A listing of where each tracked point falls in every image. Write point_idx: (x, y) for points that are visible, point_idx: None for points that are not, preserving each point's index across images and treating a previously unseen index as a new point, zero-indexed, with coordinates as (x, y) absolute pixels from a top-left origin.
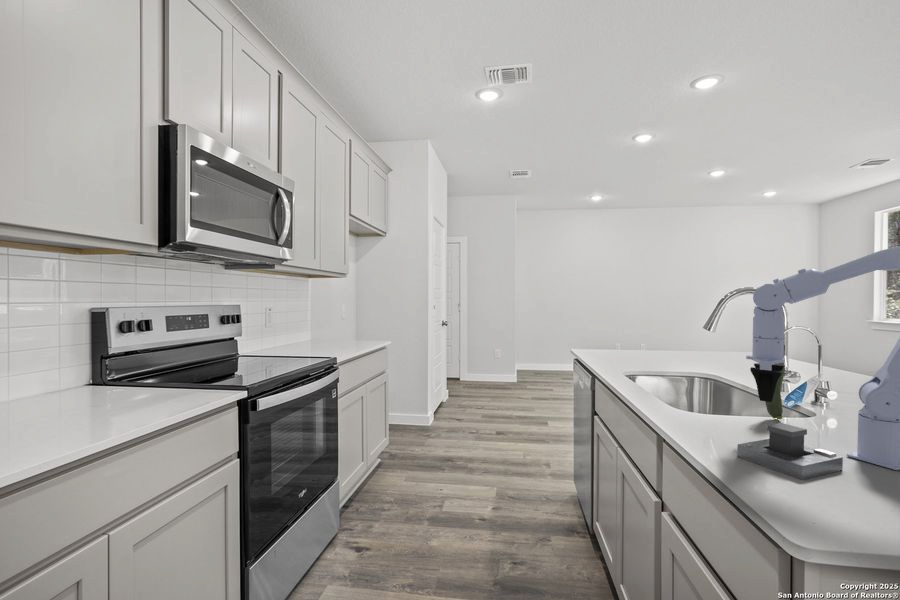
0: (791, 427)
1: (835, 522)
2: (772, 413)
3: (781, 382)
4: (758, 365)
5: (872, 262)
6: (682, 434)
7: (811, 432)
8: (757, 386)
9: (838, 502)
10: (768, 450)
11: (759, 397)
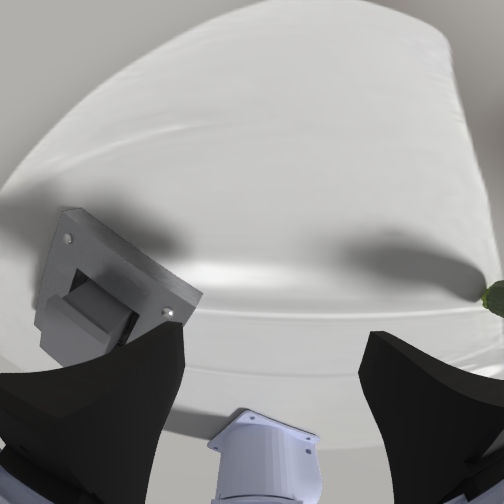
0: (76, 357)
1: None
2: (491, 291)
3: None
4: (486, 437)
5: None
6: (191, 55)
7: None
8: (109, 352)
9: (19, 336)
10: (65, 279)
11: (158, 326)
